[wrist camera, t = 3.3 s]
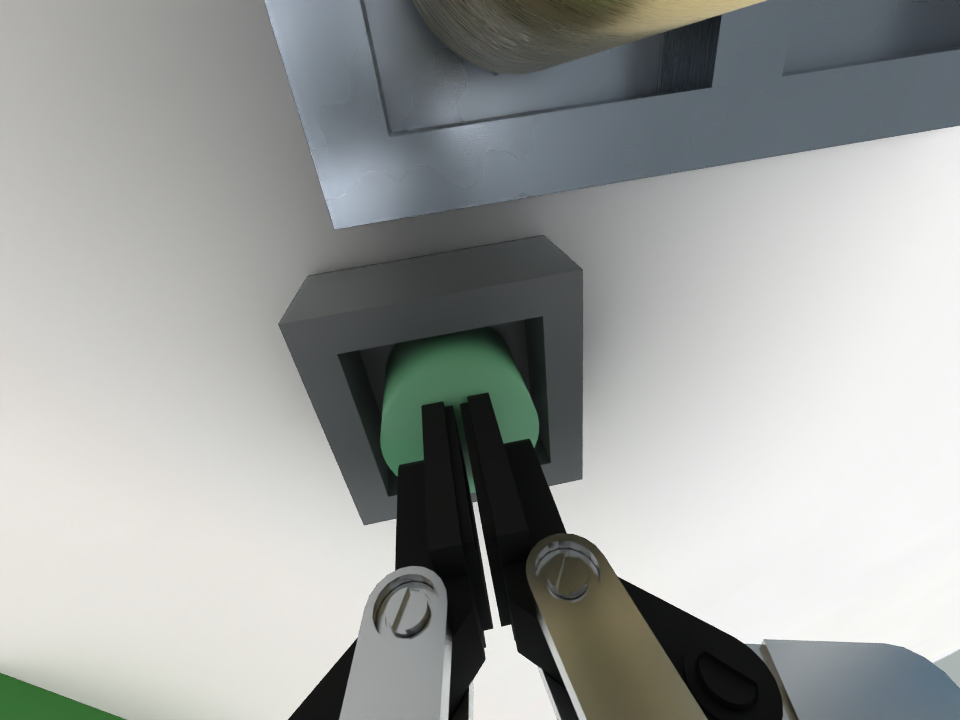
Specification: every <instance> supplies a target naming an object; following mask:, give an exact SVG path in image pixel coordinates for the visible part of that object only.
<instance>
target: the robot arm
mask: <svg viewBox="0 0 960 720" xmlns="http://www.w3.org/2000/svg"><path fill="white" fill-rule="evenodd" d="M467 400H468V402H467V403H462V404H460V409H461V414H462V420H463V425H464V431H465V436H466V442H467V447H468V453H469V458H470V464H471V469H472V474H473V480H474V485H475V491H476V496H477V502H478V507H479V513H480V518H481V524H482V529H483V535H484V540H485V545H486V550H487V555H488V561H489V566H490V571H491V576H492V581H493V586H494V591H495V596H496V601H497V606H498V612H499V617H500V622H501V627H502V626H506V625H510V624H511V625H512V630H513V635H514V640H515V641H516V645H517V650H518V652H519V653H520V654H522V655H523V656H525V657H526V658H527V659H529V660H530V661H531V662H533V663H534V664H536V665H537V666H538V669H539V673H540V675H541V678H542V680H543V683H544V686H545V688H546V691H547V694H548V696H549V699H550V702H551V704H552V707H553V710H554V712H555V715H556V718H557V720H960V688H959V687H958V686H957V685H956V684H955V683H954V682H953V681H952V680H951V679H950V677H949V676H948V675H947V674H946V673H945V672H944V671H942V670H941V669H939V668H938V667H937V666H935V665H934V664H933V663H931V662H930V661H929V660H927V659H926V658H925V657H923V656H921V655H918V654H916V653H914V652H912V651H910V650H908V649H906V648H904V647H899V646H894V645H889V644H884V643H855V642H826V641H796V640H767V639H764V640H763V642H762V644H744V643H742V642H741V641H739V640H738V639H736V638H735V637H733V636H731V635H729V634H727V633H725V632H723V631H721V630H719V629H717V628H715V627H714V626H712V625H710V624H708V623H706V622H704V621H702V620H700V619H698V618H696V617H694V616H692V615H690V614H689V613H687V612H685V611H683V610H681V609H679V608H677V607H675V606H673V605H671V604H669V603H667V602H665V601H664V600H662V599H660V598H658V597H656V596H654V595H652V594H650V593H648V592H646V591H644V590H642V589H640V588H639V587H637V586H635V585H633V584H631V583H629V582H627V581H625V580H623V579H621V578H619V577H617V575H616V574H615V572H614V570H613V569H612V567H611V566H610V564H609V563H608V561H607V559H606V558H605V556H604V555H603V554H602V552H601V551H600V550H599V549H598V548H597V547H596V545H594V544H593V543H591V542H590V541H588V540H587V539H585V538H583V537H580V536H577V535H574V534H567V533H566V531H565V528H564V525H563V523H562V520H561V518H560V515H559V512H558V510H557V507H556V504H555V502H554V499H553V497H552V494H551V491H550V489H549V486H548V483H547V481H546V478H545V476H544V473H543V470H542V468H541V465H540V462H539V460H538V457H537V455H536V452H535V449H534V447H533V444H532V442H531V440H530V439H524V440H519V441H514V442H509V443H503V440H502V437H501V433H500V430H499V426H498V423H497V420H496V416H495V413H494V409H493V406H492V403H491V399H490V396H489V393H483V394H478V395H473V396H467ZM421 411H422V432H423V452H424V460H421V461H416V462H411V463H406V464H401V465H399V467H398V485H397V523H396V562H395V571H394V572H392V573H390V574H388V575H387V576H386V577H385V578H384V579H382V580H381V581H380V582H379V583H378V584H377V585H376V587H375V588H374V590H373V591H372V592H371V594H370V595H369V598H368V601H367V603H366V606H365V609H364V613H363V617H362V622H361V626H360V630H359V635H358V638H357V639H356V640H355V641H354V643H353V644H352V645H351V646H350V647H349V648H348V650H347V651H346V652H345V653H344V654H343V656H342V657H341V658H340V659H339V660H338V661H337V663H336V664H335V665H334V666H333V667H332V668H331V670H330V671H329V672H328V673H327V674H326V676H325V677H324V678H323V679H322V680H321V681H320V683H319V684H318V685H317V686H316V687H315V688H314V690H313V691H312V692H311V693H310V694H309V696H308V697H307V698H306V699H305V700H304V701H303V703H302V704H301V705H300V706H299V707H298V708H297V710H296V711H295V712H294V713H293V714H292V716H291V717H290V718H289V719H288V720H473V679H474V677H475V676H476V674H477V673H478V671H479V669H480V668H481V666H482V664H483V663H484V661H485V652H484V648H486V644H485V637H484V630H489V629H493V624H492V618H491V612H490V606H489V600H488V594H487V588H486V582H485V576H484V570H483V564H482V558H481V552H480V546H479V540H478V534H477V528H476V522H475V517H474V511H473V505H472V499H471V493H470V487H469V482H468V477H467V472H466V467H465V462H464V458H463V453H462V448H461V443H460V438H459V433H458V428H457V423H456V418H455V413H454V409H453V405H452V406H447V407H445V406H444V402H443V401H442V402H437V403H431V404H426V405H422V406H421Z"/></svg>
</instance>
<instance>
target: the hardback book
mask: <svg viewBox="0 0 960 720" xmlns="http://www.w3.org/2000/svg"><path fill="white" fill-rule="evenodd" d="M0 720H126V719H123V718H120V717H118V716H115V715H112V714H110V713H107V712H104V711H101V710H99V709H96V708H93V707H91V706H88V705H85V704H83V703H80V702H77V701H74V700H72V699H69V698H66V697H64V696H61V695H58V694H56V693H53V692H50V691H47V690H45V689H42V688H39V687H37V686H34V685H31V684H29V683H26V682H23V681H20V680H18V679H15V678H12V677H10V676H7V675H4V674H2V673H0Z"/></svg>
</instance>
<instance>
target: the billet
mask: <svg viewBox="0 0 960 720" xmlns="http://www.w3.org/2000/svg"><path fill="white" fill-rule="evenodd" d="M412 1H413V3H414V5H415V7H416V8H417V10H418V12H419V14H420V15H421V17H422V18H423V20H424V21H425V22H426V24H427V25H428V27H429V28H430V29H431V31H432V32H433V33H434V34H435V35H436V36H437V37H438V38H439V39H440V41H441V42H442V43H443V44H444V45H445V46H447V47H448V48H449V49H450V50H451V51H453V52H454V53H455V54H456V55H458V56H459V57H461V58H462V59H464V60H466V61H467V62H469V63H470V64H473V65H475V66H477V67H480V68H482V69H484V70H488V71H492V72H496V73H501V74H512V75H514V74H527V73H532V72H536V71H540V70H544V69H547V68H550V67H553V66H557V65H560V64H563V63H566V62H570V61H573V60H576V59H579V58H583V57H586V56H589V55H592V54H595V53H599V52H602V51H605V50H608V49H612V48H615V47H618V46H621V45H624V44H628V43H631V42H634V41H637V40H641V39H644V38H647V37H650V36H654V35H657V34H660V33H663V32H666V31H670V30H673V29H676V28H679V27H683V26H686V25H689V24H692V23H696V22H699V21H702V20H705V19H708V18H712V17H715V16H718V15H721V14H725V13H728V12H731V11H734V10H738V9H741V8H744V7H747V6H750V5H754V4H757V3H760V2H763V1H767V0H412Z"/></svg>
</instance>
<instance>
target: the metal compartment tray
mask: <svg viewBox="0 0 960 720" xmlns="http://www.w3.org/2000/svg"><path fill="white" fill-rule="evenodd" d="M264 2H265V5H266V9H267V12H268V15H269V18H270V22H271V25H272V28H273V31H274V35H275V38H276V41H277V44H278V48H279V51H280V54H281V57H282V61H283V64H284V67H285V70H286V74H287V77H288V80H289V84H290V87H291V90H292V93H293V97H294V100H295V103H296V106H297V110H298V113H299V116H300V119H301V123H302V126H303V129H304V132H305V136H306V139H307V142H308V145H309V149H310V152H311V155H312V159H313V162H314V165H315V168H316V172H317V175H318V178H319V181H320V185H321V188H322V191H323V194H324V198H325V201H326V204H327V207H328V211H329V214H330V217H331V220H332V224H333V227H334V230H335V229H341V228H347V227H353V226H359V225H365V224H371V223H377V222H383V221H389V220H395V219H401V218H407V217H413V216H419V215H425V214H431V213H437V212H443V211H449V210H455V209H461V208H467V207H473V206H479V205H485V204H491V203H497V202H503V201H509V200H515V199H521V198H527V197H533V196H539V195H545V194H551V193H557V192H563V191H569V190H575V189H581V188H587V187H593V186H599V185H605V184H611V183H617V182H623V181H629V180H635V179H641V178H647V177H653V176H659V175H665V174H671V173H677V172H683V171H689V170H695V169H701V168H707V167H713V166H719V165H725V164H731V163H737V162H743V161H749V160H755V159H761V158H768V157H774V156H780V155H786V154H792V153H798V152H804V151H810V150H816V149H822V148H828V147H834V146H840V145H846V144H852V143H858V142H864V141H870V140H876V139H882V138H888V137H894V136H900V135H906V134H912V133H918V132H924V131H930V130H936V129H942V128H948V127H954V126H960V0H767V1H763V2H760V3H757V4H754V5H750V6H747V7H744V8H741V9H738V10H734V11H731V12H728V13H725V14H721V15H718V16H715V17H712V18H708V19H705V20H702V21H699V22H696V23H692V24H689V25H686V26H683V27H679V28H676V29H673V30H670V31H666V32H663V33H660V34H657V35H654V36H650V37H647V38H644V39H641V40H637V41H634V42H631V43H628V44H624V45H621V46H618V47H615V48H612V49H608V50H605V51H602V52H599V53H595V54H592V55H589V56H586V57H583V58H579V59H576V60H573V61H570V62H566V63H563V64H560V65H557V66H553V67H550V68H547V69H544V70H540V71H536V72H532V73H527V74H514V75H512V74H501V73H496V72H492V71H488V70H484V69H482V68H480V67H477V66H475V65H473V64H470V63H469V62H467V61H466V60H464V59H462V58H461V57H459V56H458V55H456V54H455V53H454V52H453V51H451V50H450V49H449V48H448V47H447V46H445V45H444V44H443V43H442V42H441V41H440V39H439V38H438V37H437V36H436V35H435V34H434V33H433V32H432V31H431V29H430V28H429V27H428V25H427V24H426V22H425V21H424V20H423V18H422V17H421V15H420V14H419V12H418V10H417V8H416V7H415V5H414V3H413V1H412V0H264Z"/></svg>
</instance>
